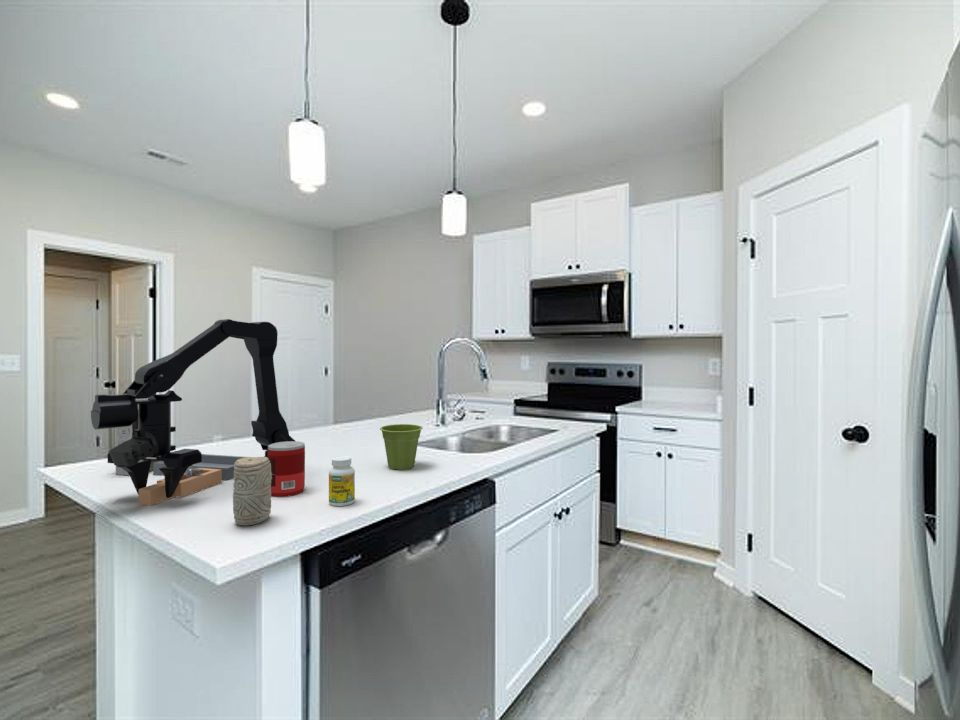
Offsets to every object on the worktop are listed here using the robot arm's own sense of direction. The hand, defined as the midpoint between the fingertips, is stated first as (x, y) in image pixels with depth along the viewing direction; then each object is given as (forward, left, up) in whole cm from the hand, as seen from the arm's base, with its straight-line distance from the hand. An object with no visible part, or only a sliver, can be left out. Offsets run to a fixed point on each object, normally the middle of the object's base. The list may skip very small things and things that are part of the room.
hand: (155, 496), depth 101 cm
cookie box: (+25, -19, -1) cm, 32 cm away
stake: (0, -9, -1) cm, 10 cm away
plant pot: (-40, -40, -1) cm, 57 cm away
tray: (+8, -23, -1) cm, 25 cm away
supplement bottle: (-39, -8, -1) cm, 40 cm away
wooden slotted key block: (0, -7, -1) cm, 7 cm away
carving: (-28, +6, -1) cm, 29 cm away
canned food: (-23, -12, -1) cm, 26 cm away
